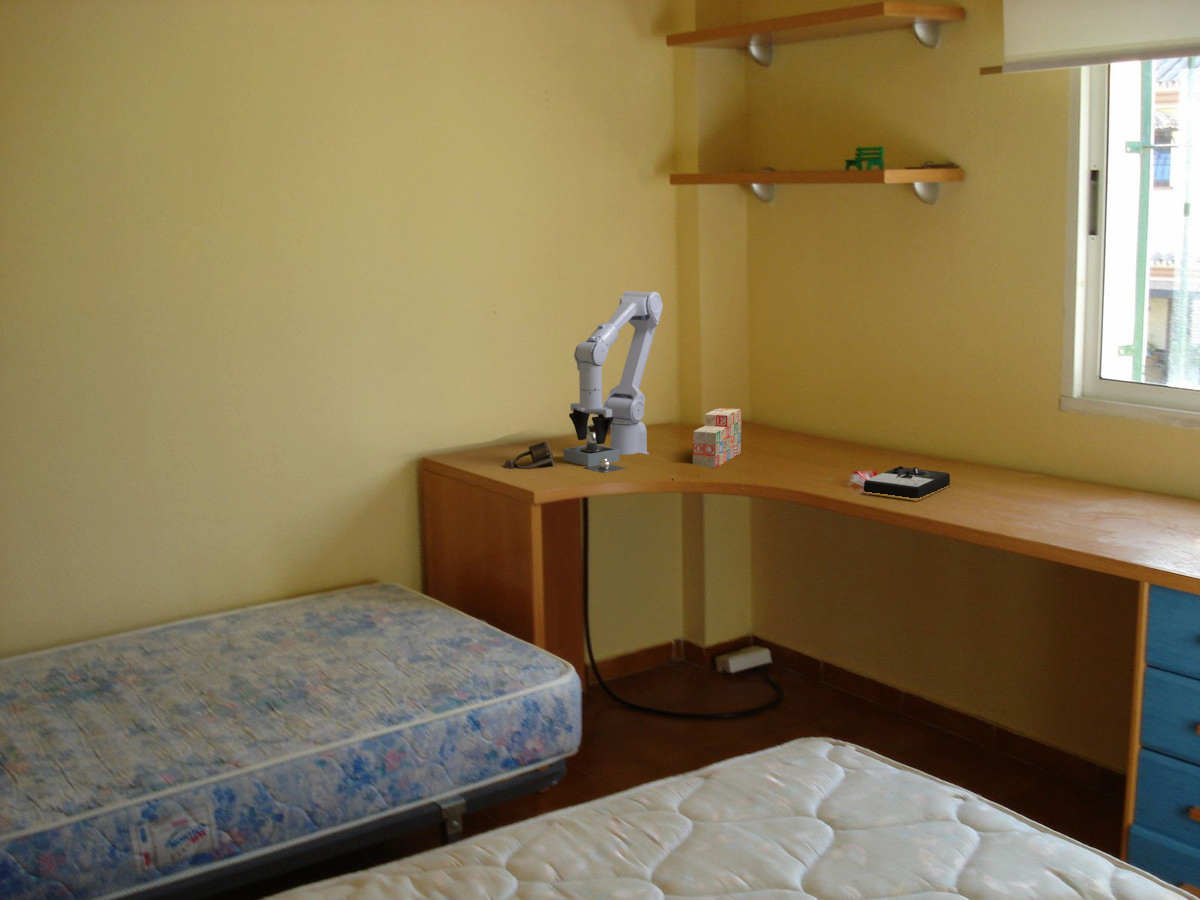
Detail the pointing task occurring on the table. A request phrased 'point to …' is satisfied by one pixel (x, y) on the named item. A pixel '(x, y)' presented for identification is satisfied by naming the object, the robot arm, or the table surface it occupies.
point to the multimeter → (907, 482)
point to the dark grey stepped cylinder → (591, 444)
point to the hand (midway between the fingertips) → (591, 441)
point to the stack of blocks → (717, 438)
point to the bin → (590, 455)
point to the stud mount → (604, 466)
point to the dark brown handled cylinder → (534, 457)
